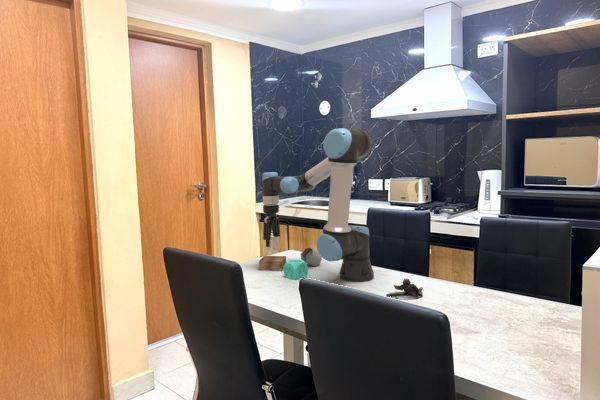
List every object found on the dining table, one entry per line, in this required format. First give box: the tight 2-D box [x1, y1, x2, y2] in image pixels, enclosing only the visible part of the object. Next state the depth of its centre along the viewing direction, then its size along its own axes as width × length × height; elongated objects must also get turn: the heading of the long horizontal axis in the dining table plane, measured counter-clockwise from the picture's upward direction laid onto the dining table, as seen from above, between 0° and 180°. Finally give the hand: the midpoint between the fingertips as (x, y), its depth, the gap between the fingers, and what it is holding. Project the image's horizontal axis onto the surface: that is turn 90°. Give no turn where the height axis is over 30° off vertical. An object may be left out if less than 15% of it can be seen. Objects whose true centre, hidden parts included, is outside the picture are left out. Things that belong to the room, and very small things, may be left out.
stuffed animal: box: [385, 278, 424, 301], centre depth 164 cm, size 12×10×12 cm
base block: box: [258, 255, 287, 272], centre depth 207 cm, size 11×11×6 cm
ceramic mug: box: [299, 246, 323, 267], centre depth 212 cm, size 11×8×8 cm
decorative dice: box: [282, 258, 309, 281], centre depth 191 cm, size 8×8×8 cm
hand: (272, 251), depth 207 cm, fingers open, 7 cm apart
